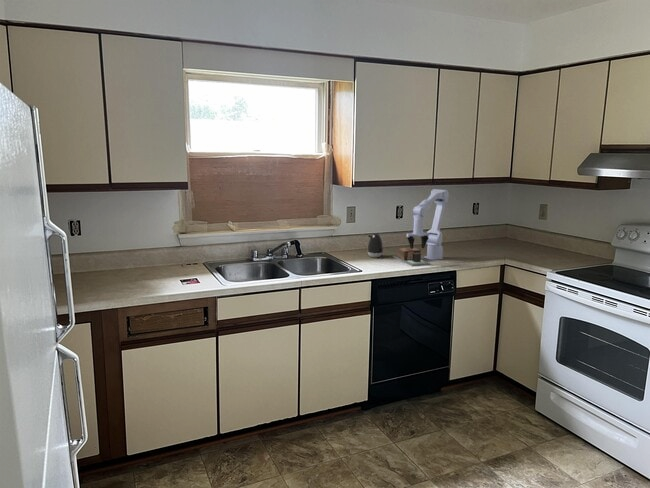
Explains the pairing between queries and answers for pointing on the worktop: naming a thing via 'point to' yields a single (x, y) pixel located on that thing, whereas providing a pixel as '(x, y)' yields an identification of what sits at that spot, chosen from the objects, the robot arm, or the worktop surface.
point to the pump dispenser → (375, 246)
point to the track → (412, 262)
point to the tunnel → (403, 251)
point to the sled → (415, 257)
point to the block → (409, 254)
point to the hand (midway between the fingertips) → (417, 248)
